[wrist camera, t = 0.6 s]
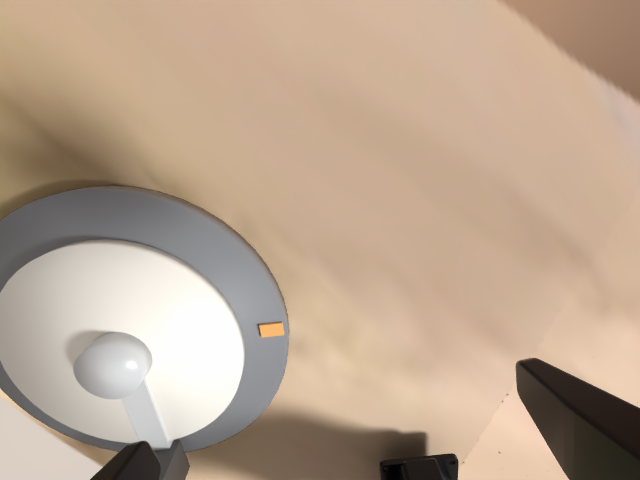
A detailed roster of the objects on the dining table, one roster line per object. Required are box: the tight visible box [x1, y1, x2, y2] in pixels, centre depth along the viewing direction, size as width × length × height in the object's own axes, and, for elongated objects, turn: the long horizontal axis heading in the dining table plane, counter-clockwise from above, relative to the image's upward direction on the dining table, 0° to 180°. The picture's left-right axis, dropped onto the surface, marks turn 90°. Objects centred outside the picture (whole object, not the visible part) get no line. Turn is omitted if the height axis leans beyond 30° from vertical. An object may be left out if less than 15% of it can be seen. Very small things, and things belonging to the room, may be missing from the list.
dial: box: [0, 239, 245, 480], centre depth 20 cm, size 20×16×6 cm
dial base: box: [0, 185, 289, 452], centre depth 23 cm, size 22×22×2 cm
